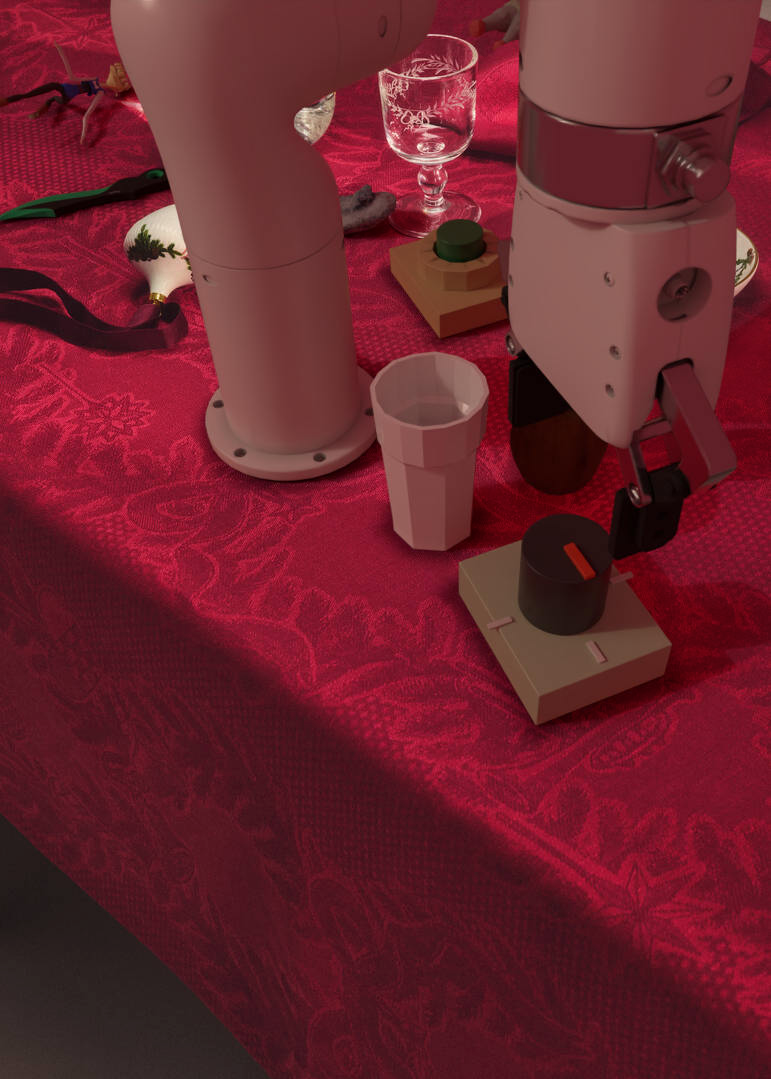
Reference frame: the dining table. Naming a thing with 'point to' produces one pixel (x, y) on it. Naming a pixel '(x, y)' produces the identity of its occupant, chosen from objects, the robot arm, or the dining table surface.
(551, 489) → the wooden figurine
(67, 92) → the figurine
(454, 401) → the cup
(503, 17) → the toy
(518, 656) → the dial panel
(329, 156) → the dining table surface
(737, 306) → the dining table surface
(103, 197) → the knife
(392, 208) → the fossil
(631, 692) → the dining table surface
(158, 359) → the dining table surface
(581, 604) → the dial
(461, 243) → the button
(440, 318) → the button box
